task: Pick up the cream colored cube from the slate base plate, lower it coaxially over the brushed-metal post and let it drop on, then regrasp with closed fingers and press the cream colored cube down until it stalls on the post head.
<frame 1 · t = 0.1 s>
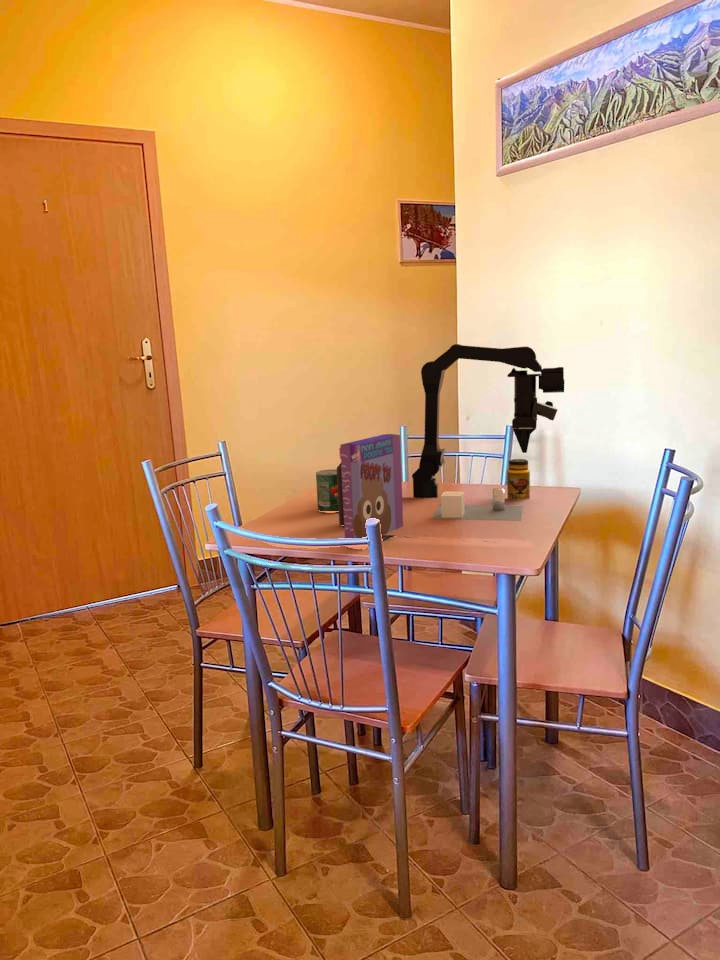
hand: (525, 450, 196), 15 cm above the table, fingers open, 9 cm apart
canned tomato: (332, 511, 199), on the table
condiment: (516, 502, 199), on the table
post: (498, 515, 185), resting on base plate
bottle: (352, 525, 182), on the table
cream colored cube: (453, 515, 181), point 1 cm above the table, touching base plate
base plate: (478, 517, 184), on the table
cereal box: (375, 540, 167), on the table
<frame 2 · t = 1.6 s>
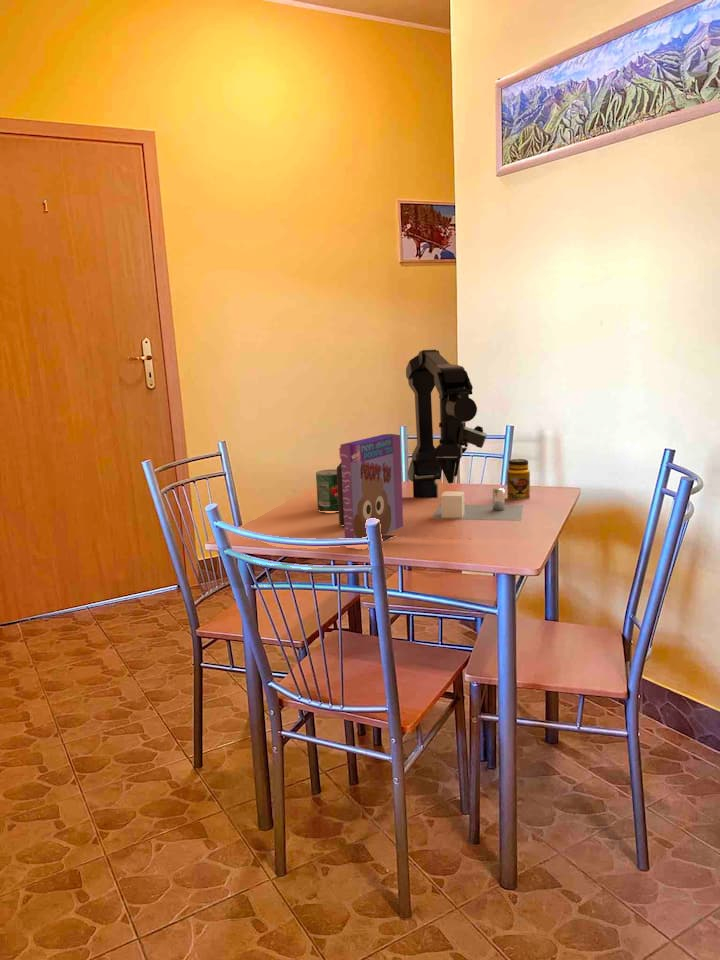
hand: (452, 479, 179), 11 cm above the table, fingers open, 9 cm apart
nothing on the table moved.
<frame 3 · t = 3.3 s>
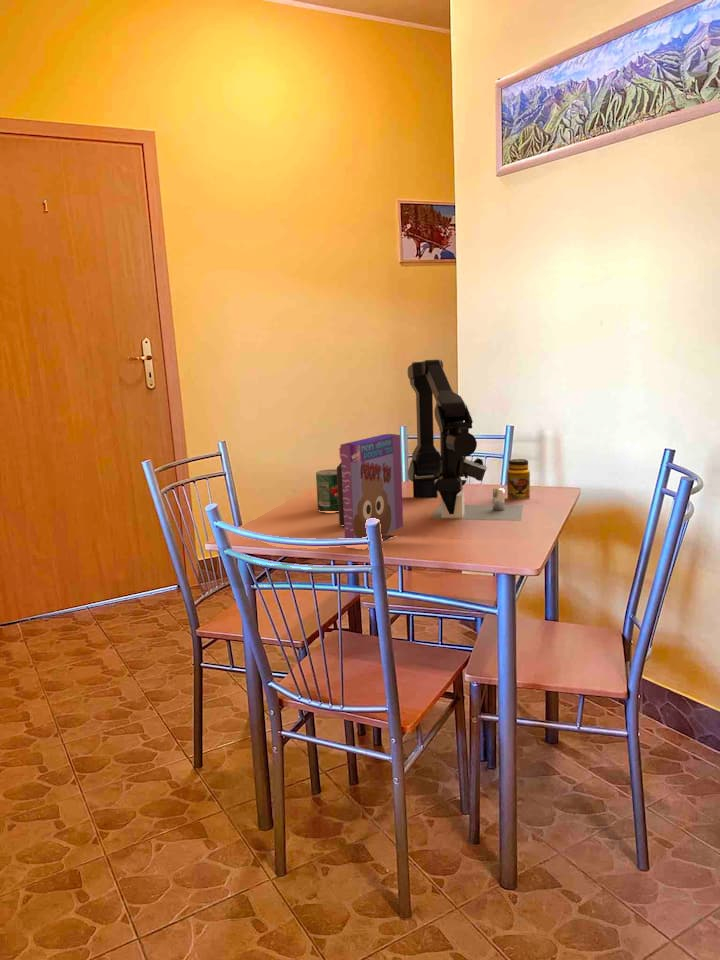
hand: (453, 511, 181), 3 cm above the table, fingers closed on cream colored cube, 5 cm apart
cream colored cube: (453, 515, 181), point 2 cm above the table, touching base plate, gripper
everything else where it was.
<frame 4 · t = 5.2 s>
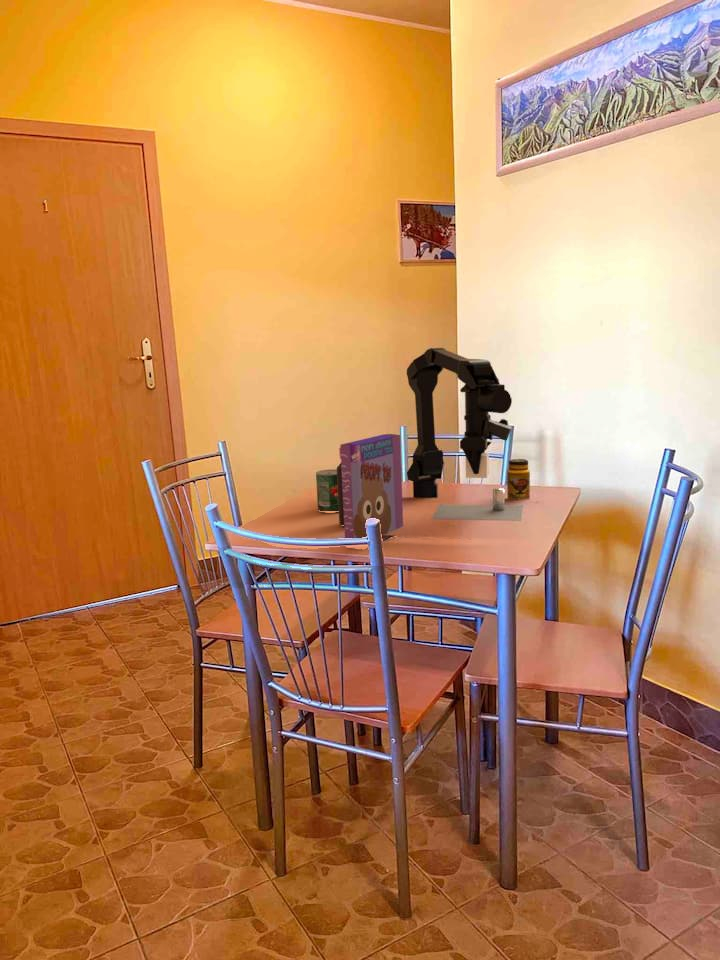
hand: (477, 472, 181), 12 cm above the table, fingers closed on cream colored cube, 5 cm apart
cream colored cube: (477, 475, 181), point 11 cm above the table, touching gripper
everything else where it was.
when the fingers open (5 cm above the table, at t = 7.5 s): cream colored cube drops 2 cm, resting on post.
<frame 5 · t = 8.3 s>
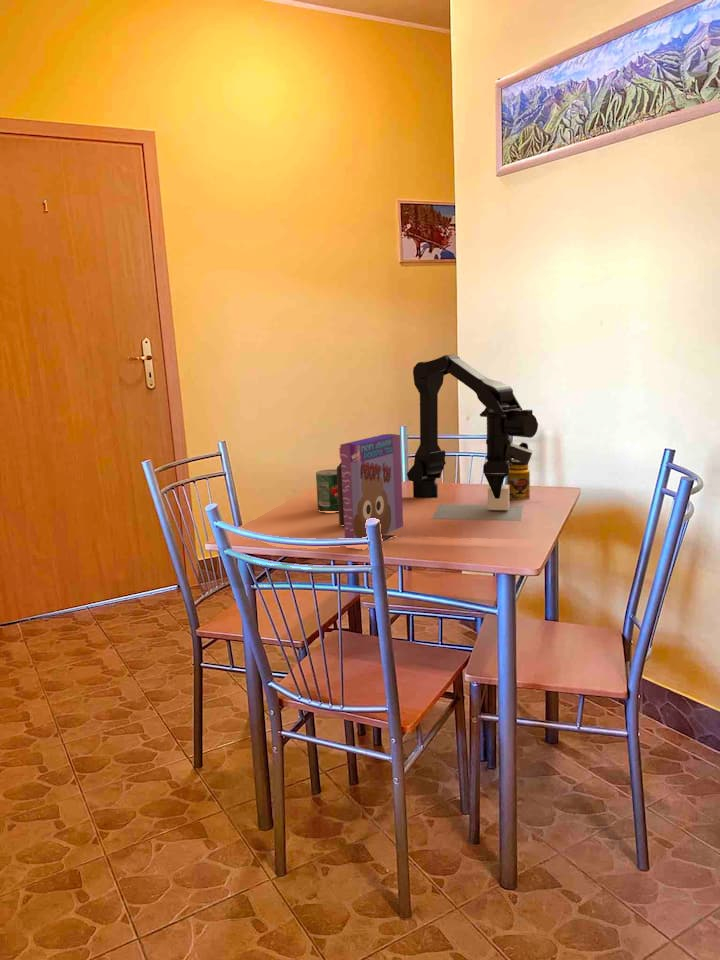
hand: (498, 494, 184), 5 cm above the table, fingers open, 9 cm apart
cream colored cube: (498, 507, 185), point 2 cm above the table, touching post
everything else where it was.
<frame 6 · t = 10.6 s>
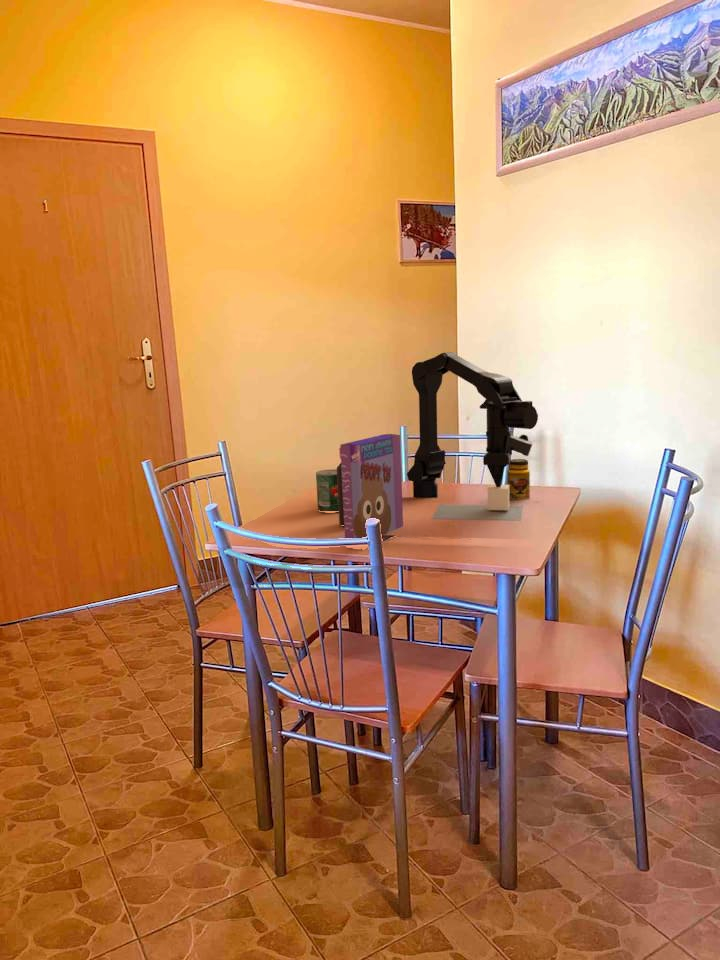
hand: (498, 486, 184), 8 cm above the table, fingers closed, pressing on cream colored cube
cream colored cube: (498, 507, 185), point 2 cm above the table, touching gripper, post
everything else where it was.
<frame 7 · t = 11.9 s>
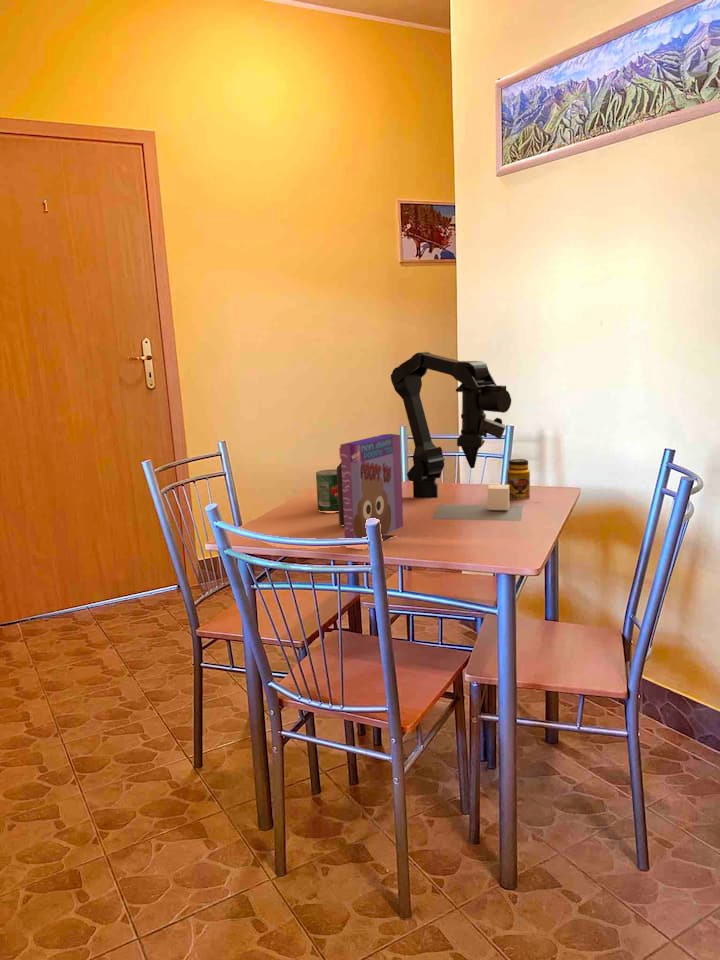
hand: (472, 467, 190), 11 cm above the table, fingers closed
cream colored cube: (498, 507, 185), point 2 cm above the table, touching post
everything else where it was.
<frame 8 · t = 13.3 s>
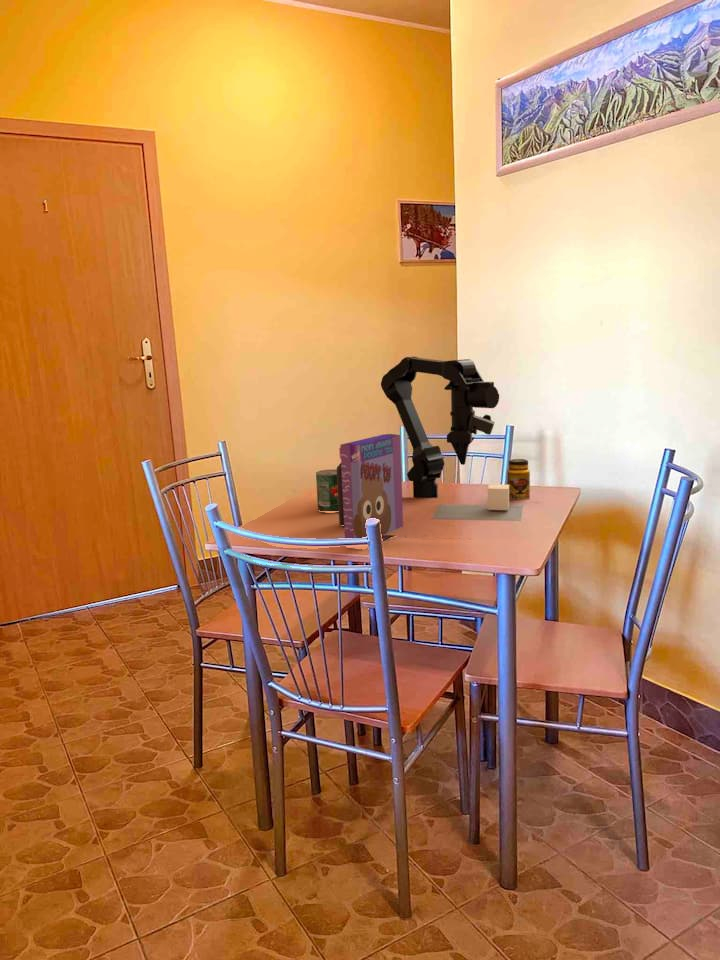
hand: (462, 464, 193), 12 cm above the table, fingers closed
nothing on the table moved.
at the end: cream colored cube 0.1 cm off-centre on the post, point 2.0 cm above the post's base; cream colored cube tilted 1°; the gripper is holding nothing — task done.
